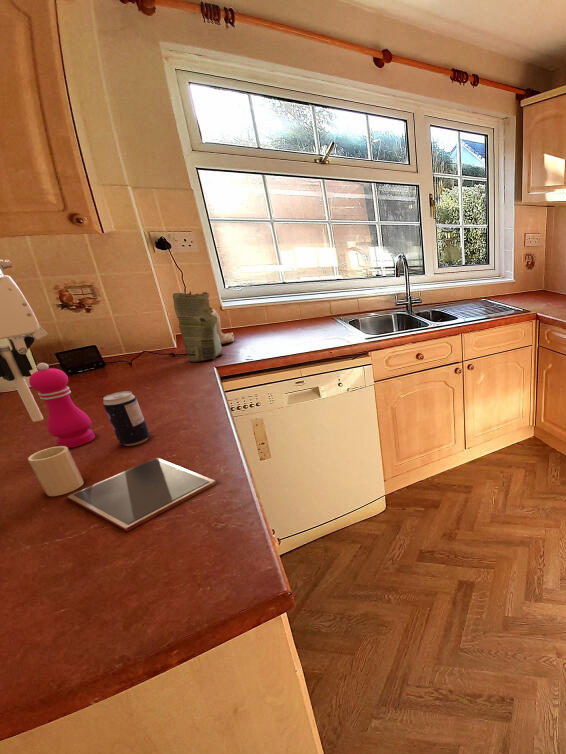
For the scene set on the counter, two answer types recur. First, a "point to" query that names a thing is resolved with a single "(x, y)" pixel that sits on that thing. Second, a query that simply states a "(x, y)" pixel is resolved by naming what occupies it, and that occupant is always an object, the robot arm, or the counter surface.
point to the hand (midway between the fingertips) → (17, 376)
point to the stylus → (21, 385)
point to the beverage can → (126, 418)
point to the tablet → (141, 493)
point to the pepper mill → (61, 407)
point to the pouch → (197, 326)
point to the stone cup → (223, 337)
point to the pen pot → (56, 470)
